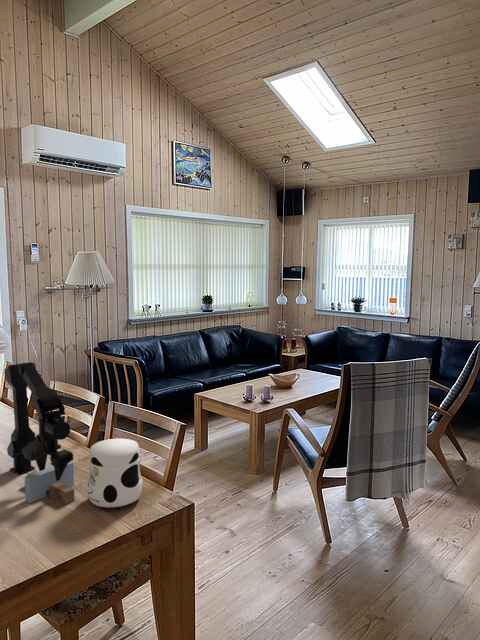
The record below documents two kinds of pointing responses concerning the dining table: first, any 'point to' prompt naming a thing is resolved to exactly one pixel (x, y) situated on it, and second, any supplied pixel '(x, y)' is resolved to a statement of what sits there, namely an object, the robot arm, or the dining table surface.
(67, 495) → the brown wooden bar
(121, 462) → the milk container
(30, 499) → the blue long flat plate
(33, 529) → the dining table surface
